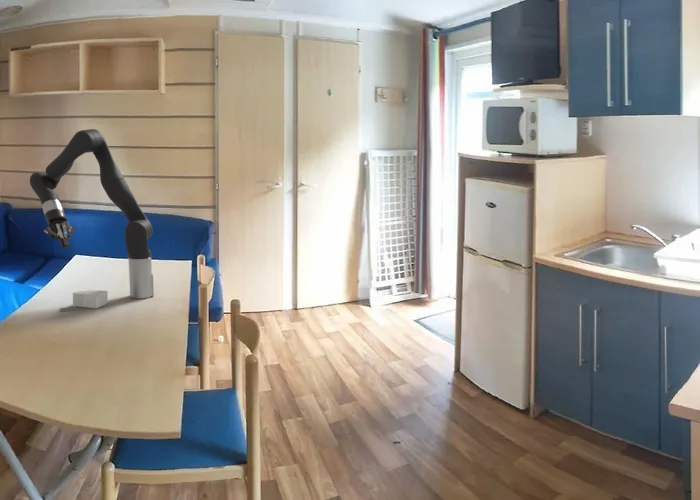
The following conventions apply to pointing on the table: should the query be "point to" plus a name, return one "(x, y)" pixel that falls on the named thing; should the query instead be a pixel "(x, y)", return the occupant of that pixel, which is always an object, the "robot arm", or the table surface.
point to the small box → (90, 298)
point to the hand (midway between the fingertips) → (66, 247)
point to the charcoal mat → (73, 308)
